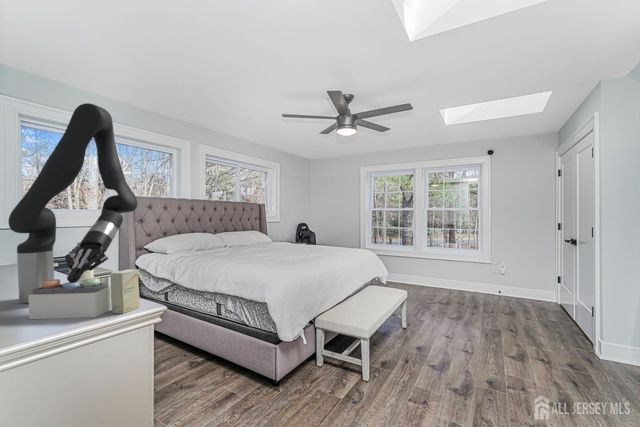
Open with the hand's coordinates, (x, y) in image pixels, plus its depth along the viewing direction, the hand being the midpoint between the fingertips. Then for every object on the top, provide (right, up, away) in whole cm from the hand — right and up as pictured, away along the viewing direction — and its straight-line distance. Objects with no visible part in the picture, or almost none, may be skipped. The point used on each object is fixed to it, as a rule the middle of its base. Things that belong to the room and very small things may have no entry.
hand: (71, 281), depth 88 cm
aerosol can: (-11, -10, +17) cm, 23 cm away
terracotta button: (-6, -2, 0) cm, 6 cm away
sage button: (+6, -2, 0) cm, 6 cm away
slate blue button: (0, -3, 0) cm, 3 cm away
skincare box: (+15, -10, +2) cm, 18 cm away
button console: (0, -10, 0) cm, 10 cm away
